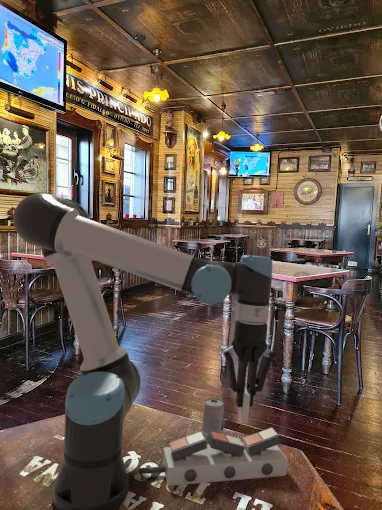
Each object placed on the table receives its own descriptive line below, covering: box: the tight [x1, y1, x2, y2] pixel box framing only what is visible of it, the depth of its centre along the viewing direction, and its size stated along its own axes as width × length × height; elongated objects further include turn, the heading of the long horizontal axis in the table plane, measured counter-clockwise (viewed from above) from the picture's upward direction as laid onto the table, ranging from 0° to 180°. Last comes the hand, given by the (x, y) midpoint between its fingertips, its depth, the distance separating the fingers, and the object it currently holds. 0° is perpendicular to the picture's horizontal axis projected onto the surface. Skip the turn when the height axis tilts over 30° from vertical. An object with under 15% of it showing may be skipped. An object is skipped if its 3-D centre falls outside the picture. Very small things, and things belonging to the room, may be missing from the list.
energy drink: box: [201, 397, 225, 445], centre depth 96 cm, size 5×5×12 cm
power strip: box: [138, 441, 288, 487], centre depth 87 cm, size 34×8×5 cm, turn 102°
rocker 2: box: [207, 431, 245, 456], centre depth 87 cm, size 8×4×2 cm, turn 101°
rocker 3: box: [242, 426, 282, 455], centre depth 89 cm, size 8×4×2 cm, turn 103°
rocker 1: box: [168, 430, 207, 460], centre depth 85 cm, size 8×4×2 cm, turn 103°
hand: (242, 419), depth 88 cm, fingers closed
